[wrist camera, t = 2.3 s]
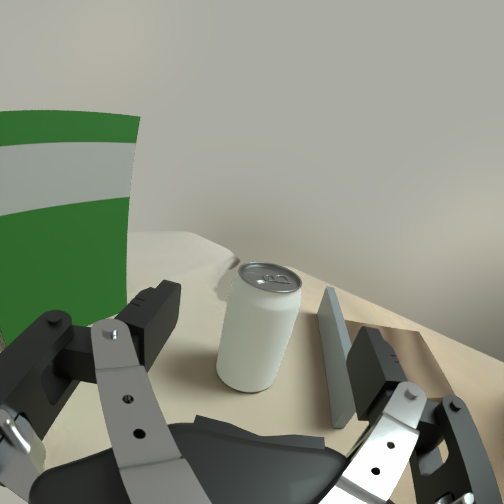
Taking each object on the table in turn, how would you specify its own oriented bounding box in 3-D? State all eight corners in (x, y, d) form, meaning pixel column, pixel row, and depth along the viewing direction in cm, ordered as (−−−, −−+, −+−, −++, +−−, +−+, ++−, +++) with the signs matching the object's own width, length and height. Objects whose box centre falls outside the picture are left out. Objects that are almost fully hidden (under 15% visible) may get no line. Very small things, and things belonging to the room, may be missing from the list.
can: (211, 353, 30) (227, 257, 26) (265, 352, 32) (290, 262, 28) (221, 396, 25) (242, 293, 20) (282, 391, 27) (319, 295, 22)
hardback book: (100, 286, 37) (109, 117, 29) (127, 309, 34) (140, 116, 26) (-3, 320, 23) (-20, 118, 14) (10, 356, 20) (-19, 113, 11)
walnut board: (416, 336, 40) (418, 331, 40) (452, 401, 25) (456, 396, 25) (333, 323, 41) (335, 318, 41) (350, 401, 26) (354, 395, 26)
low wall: (323, 315, 43) (333, 287, 41) (343, 428, 22) (365, 397, 21) (316, 313, 43) (326, 286, 41) (332, 427, 22) (353, 396, 21)
